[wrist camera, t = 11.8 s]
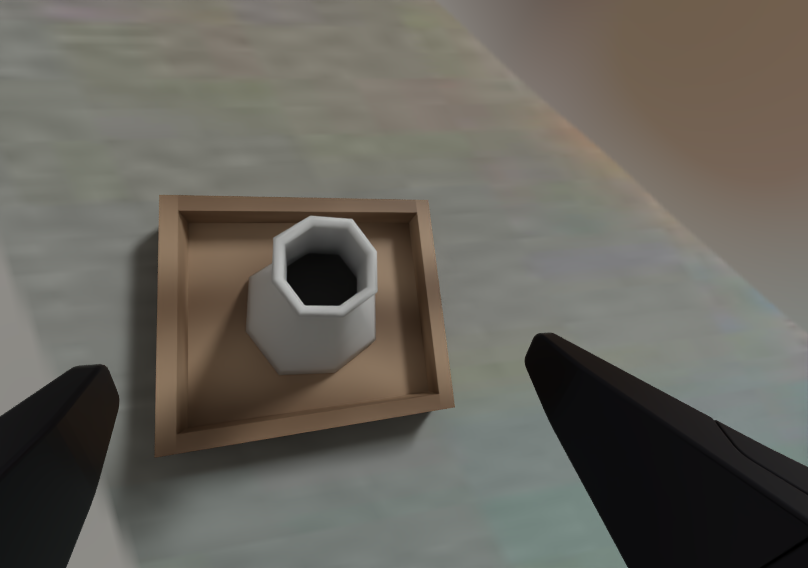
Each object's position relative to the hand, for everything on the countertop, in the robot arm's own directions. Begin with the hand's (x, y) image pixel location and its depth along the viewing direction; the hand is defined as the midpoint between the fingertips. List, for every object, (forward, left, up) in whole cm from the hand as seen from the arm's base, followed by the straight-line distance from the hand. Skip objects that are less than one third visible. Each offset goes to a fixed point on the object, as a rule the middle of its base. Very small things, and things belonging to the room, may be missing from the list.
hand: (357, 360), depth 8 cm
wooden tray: (+2, +2, -13) cm, 14 cm away
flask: (+2, +2, -13) cm, 13 cm away
